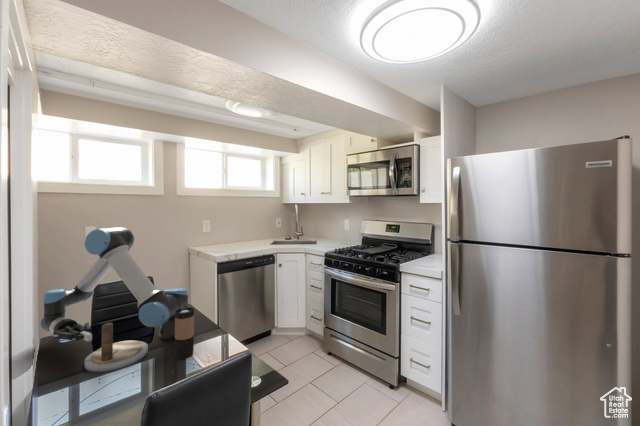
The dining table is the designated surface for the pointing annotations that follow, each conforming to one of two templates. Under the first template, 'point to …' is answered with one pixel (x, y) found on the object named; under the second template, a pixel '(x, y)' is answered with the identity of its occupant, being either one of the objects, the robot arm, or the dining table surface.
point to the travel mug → (184, 333)
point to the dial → (114, 347)
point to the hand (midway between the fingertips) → (89, 337)
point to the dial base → (115, 365)
